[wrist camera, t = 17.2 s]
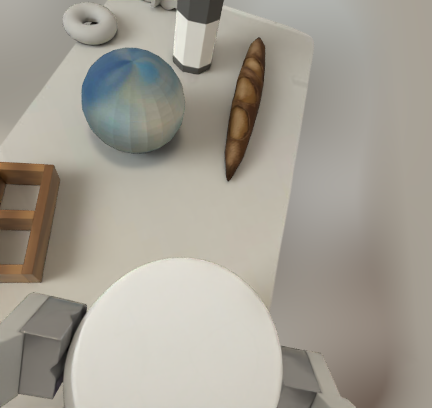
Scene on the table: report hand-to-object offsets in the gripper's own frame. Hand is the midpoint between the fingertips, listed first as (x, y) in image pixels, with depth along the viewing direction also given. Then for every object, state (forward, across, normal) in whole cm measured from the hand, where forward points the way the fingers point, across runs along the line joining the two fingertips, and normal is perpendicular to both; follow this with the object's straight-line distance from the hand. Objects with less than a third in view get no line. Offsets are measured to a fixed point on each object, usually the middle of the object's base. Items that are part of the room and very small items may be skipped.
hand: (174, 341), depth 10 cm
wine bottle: (+65, +7, -14) cm, 67 cm away
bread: (+60, -5, -8) cm, 60 cm away
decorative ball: (+50, +12, +1) cm, 51 cm away
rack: (+36, +23, +16) cm, 45 cm away
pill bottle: (+4, 0, +5) cm, 6 cm away
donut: (+65, +27, -14) cm, 72 cm away
